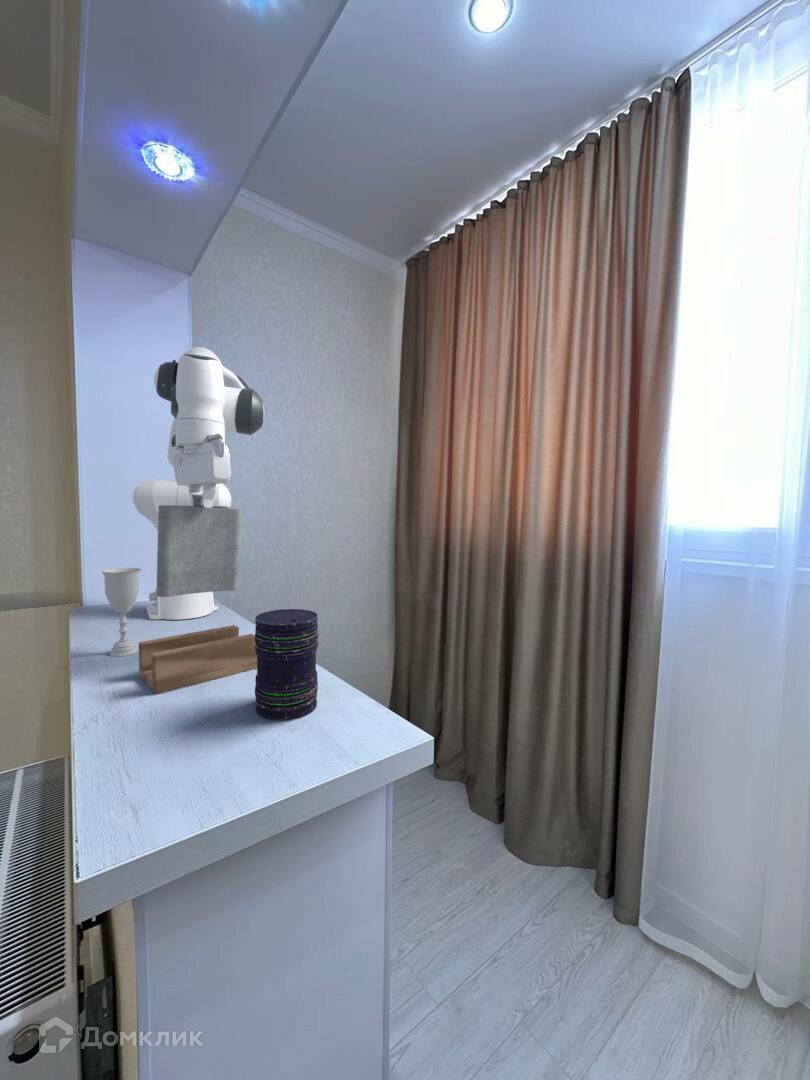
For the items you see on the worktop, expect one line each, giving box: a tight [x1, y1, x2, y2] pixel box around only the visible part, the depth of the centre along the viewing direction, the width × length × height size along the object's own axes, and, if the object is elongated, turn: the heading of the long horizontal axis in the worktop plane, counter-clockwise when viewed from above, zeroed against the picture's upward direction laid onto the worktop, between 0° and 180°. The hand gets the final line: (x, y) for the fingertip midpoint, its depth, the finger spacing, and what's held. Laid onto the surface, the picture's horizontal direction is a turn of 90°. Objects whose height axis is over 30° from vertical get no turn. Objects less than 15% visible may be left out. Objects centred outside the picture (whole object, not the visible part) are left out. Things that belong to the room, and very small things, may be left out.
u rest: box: [138, 624, 257, 695], centre depth 84 cm, size 11×18×6 cm, turn 135°
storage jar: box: [254, 608, 319, 722], centre depth 70 cm, size 10×10×15 cm
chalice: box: [101, 567, 142, 657], centre depth 93 cm, size 7×7×18 cm
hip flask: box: [156, 494, 243, 597], centre depth 88 cm, size 16×4×20 cm, turn 134°
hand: (201, 507), depth 87 cm, fingers closed on hip flask, 4 cm apart
